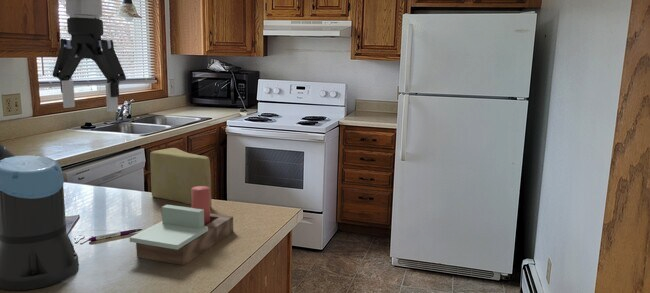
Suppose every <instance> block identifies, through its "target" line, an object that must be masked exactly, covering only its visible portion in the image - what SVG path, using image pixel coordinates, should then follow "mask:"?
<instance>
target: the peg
mask: <svg viewBox="0 0 650 293" xmlns="http://www.w3.org/2000/svg"><path fill="white" fill-rule="evenodd" d="M191 194H192V205H191V208H196V209H203V210H204V225H207V224H209V223H210V213H211V207H210V188H209V187H206V186H197V187H193V188H192V189H191Z"/></svg>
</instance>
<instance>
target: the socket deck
mask: <svg viewBox="0 0 650 293" xmlns="http://www.w3.org/2000/svg"><path fill="white" fill-rule="evenodd" d="M204 226H207V227H208V231H207V232H205V233H204V234H202V235H201V236H199V237H197V238H196V239H194V240H192V241H191V242H189V243H188V244H186V245H184V246H183V247H181V248H179V249H178V250H176V249H170V248H164V247H158V246H152V245H146V244H140V243H135V245H136V247H135V248H136V250H135V251H136V258H141V259H146V260H152V261H158V262H163V263H169V264H173V265H180V266H185V265H186V264H187V263H189V262H191V261H193V260H194V259H195V258H196V257H198V256H199V255H201V254H202V253H203V252H205V251H206V250H208V249H209V248H211V247H212V246H214V245H216V244H217V243H218V242H220V241H221V240H222V239H224V238H226V237H227V236H229V235H230V234H232V233H233V232H234V216H233V215H227V214H226V215H225V214H217V213H212V212H210V223H209V224H207V225H204Z"/></svg>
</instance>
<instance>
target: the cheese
mask: <svg viewBox="0 0 650 293" xmlns="http://www.w3.org/2000/svg"><path fill="white" fill-rule="evenodd" d="M149 159H150V160H149V162H150V164H149V165H150V187H151V189H150V190H151V197H153V198H156V199H157V198H158V199H164V200H168V201H175V202H179V203H183V204H188V205H191V206H192V194H191V189H192V188H193V187H197V186H206V187H209V188H210V208H211V207H212V173H211V164H210V162H211V161H210V158H209V157H208V156H206V155H199V154H194V153H189V152H186V151H184V150H181V149H179V148H177V147H169V148H164V149H159V150H158V149H157V150H151V152H149Z"/></svg>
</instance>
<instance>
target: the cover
mask: <svg viewBox="0 0 650 293" xmlns="http://www.w3.org/2000/svg"><path fill="white" fill-rule="evenodd" d="M207 231H208V227H207V226H204V210H203V209H196V208H192V207H188V206H181V205H173V204H165V205H163V206H161V221H159V222H158V223H156V224H153V225H152V226H149V227H148V228H146V229H144V230H142V231H140V232H137V233H136V234H134V235H132V236H130V237H129V242H130V243H135V244H136V243H140V244H146V245H152V246H158V247H164V248H170V249H176V250H178V249H179V248H181V247H183V246H184V245H186V244H188V243H189V242H191V241H192V240H194V239H196V238H197V237H199V236H201V235H202V234H204V233H205V232H207Z"/></svg>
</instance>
